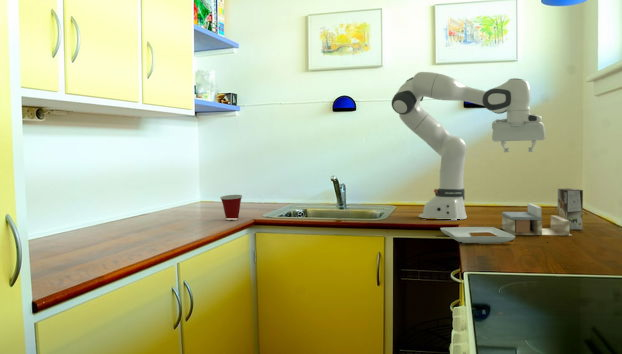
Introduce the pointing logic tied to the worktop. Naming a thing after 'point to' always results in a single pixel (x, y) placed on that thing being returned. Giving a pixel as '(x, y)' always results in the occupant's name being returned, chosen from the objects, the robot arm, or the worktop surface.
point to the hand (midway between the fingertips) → (518, 152)
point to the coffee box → (571, 206)
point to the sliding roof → (525, 214)
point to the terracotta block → (522, 226)
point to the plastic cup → (231, 205)
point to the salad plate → (465, 237)
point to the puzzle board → (539, 226)
